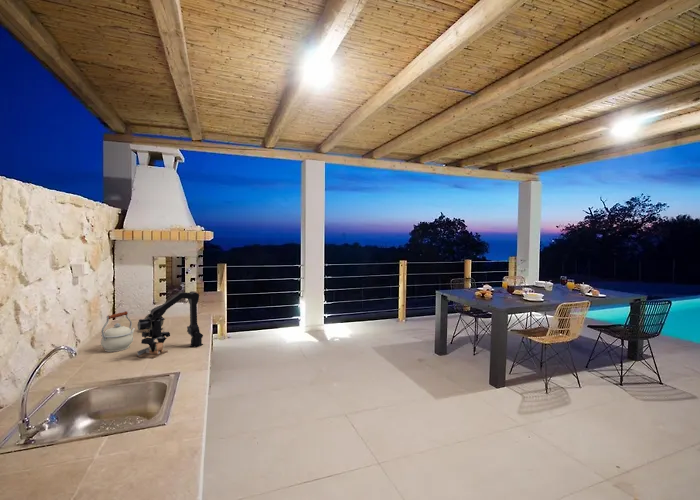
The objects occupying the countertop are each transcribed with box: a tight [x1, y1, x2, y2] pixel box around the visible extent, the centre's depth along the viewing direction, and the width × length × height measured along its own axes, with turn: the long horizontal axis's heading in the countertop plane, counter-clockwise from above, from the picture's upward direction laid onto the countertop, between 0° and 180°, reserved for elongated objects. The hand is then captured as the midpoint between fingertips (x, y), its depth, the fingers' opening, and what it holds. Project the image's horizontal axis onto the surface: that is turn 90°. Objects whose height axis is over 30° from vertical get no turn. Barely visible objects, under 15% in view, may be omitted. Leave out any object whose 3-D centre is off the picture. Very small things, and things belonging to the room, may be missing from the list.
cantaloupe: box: [143, 313, 165, 331], centre depth 265 cm, size 14×14×15 cm
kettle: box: [100, 311, 136, 353], centre depth 223 cm, size 25×18×25 cm
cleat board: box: [136, 346, 168, 359], centre depth 213 cm, size 12×12×4 cm
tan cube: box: [148, 341, 164, 354], centre depth 212 cm, size 6×5×6 cm
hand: (156, 350), depth 212 cm, fingers closed on tan cube, 5 cm apart
